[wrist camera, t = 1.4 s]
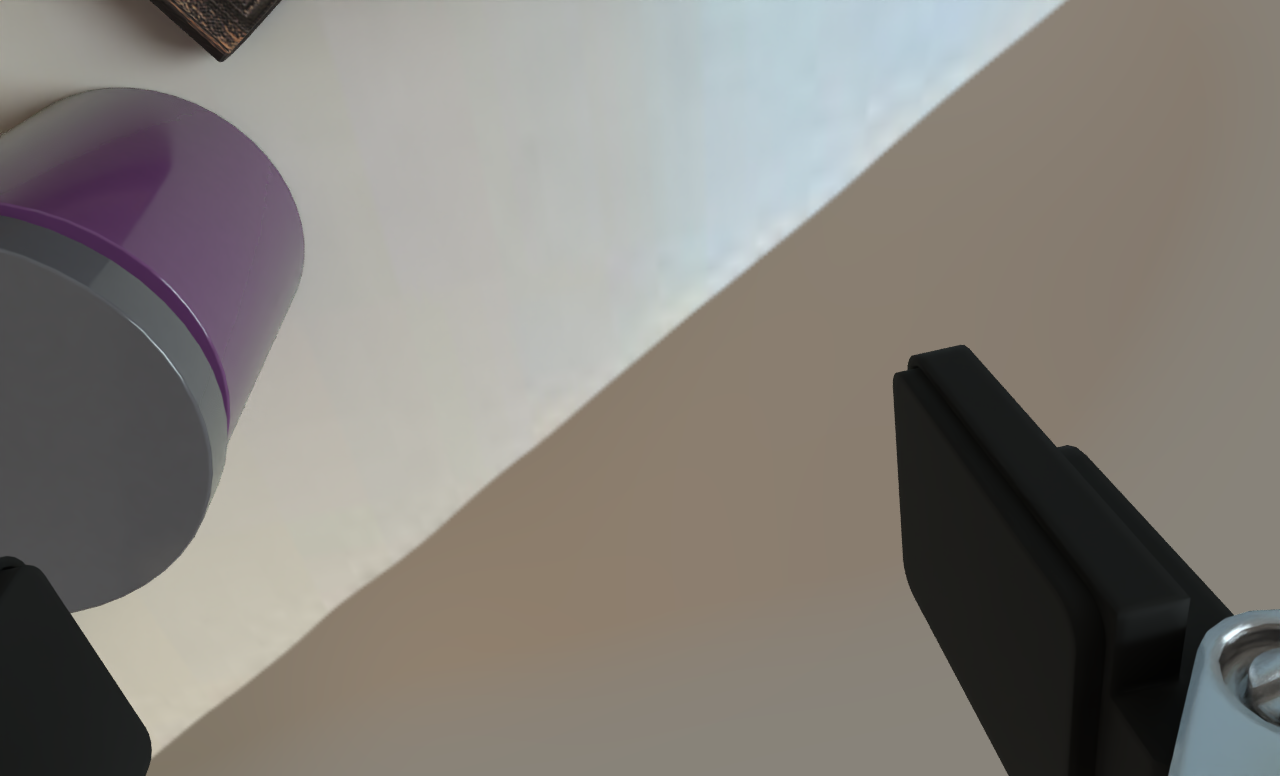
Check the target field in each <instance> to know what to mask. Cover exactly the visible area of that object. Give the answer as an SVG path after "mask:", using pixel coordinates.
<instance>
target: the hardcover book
mask: <svg viewBox="0 0 1280 776" xmlns="http://www.w3.org/2000/svg"><path fill="white" fill-rule="evenodd" d="M150 1H151V2H152V3H153V4H155V5H156V6H157V7H158V8H159V9H160V10H161V11H162V12H164V13H165V14H166V15H167V16H168V17H169V18H170V19H171V20H173V21H174V22H175V23H176V24H177V25H178V26H179V27H180V28H182V29H183V30H184V31H185V32H186V33H187V34H188V35H189V36H190V37H192V38H193V39H194V40H195V41H196V42H197V43H198V44H199V45H201V46H202V47H203V48H204V49H205V50H206V51H207V52H208V53H210V54H211V55H212V56H213V57H214V58H215V59H216V60H217V61H219V62H223V61H224V60H226V59H227V58H228V57H229V56H230V55H232V54H233V53H234V52H235V51H236V50H237V49H238V48H239V47H240V46H241V44H242V43H243V42H244V41H245V40H246V39H247V38H248V37H249V36H250V35H251V34H252V33H253V31H254V30H255V29H256V28H257V27H258V26H259V25H260V24H261V23H262V21H263V20H264V19H265V18H266V17H267V16H268V15H269V14H270V13H271V11H272V10H273V9H274V8H275V7H276V6H277V5H278V4H279V3H280V1H281V0H150Z"/></svg>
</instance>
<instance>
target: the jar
mask: <svg viewBox="0 0 1280 776" xmlns="http://www.w3.org/2000/svg"><path fill="white" fill-rule="evenodd" d="M303 263H304V237H303V230H302V224H301V220H300V217H299V213H298V210H297V207H296V204H295V202H294V200H293V197H292V195H291V193H290V190H289V188H288V187H287V185H286V183H285V182H284V180H283V178H282V177H281V175H280V173H279V172H278V170H277V169H276V168H275V166H274V165H273V164H272V162H271V161H270V160H269V159H268V157H267V156H266V155H265V154H264V153H263V152H262V151H261V150H260V149H259V148H258V147H257V146H256V144H255V143H254V142H253V141H252V140H250V139H249V138H248V137H247V136H246V135H244V134H243V133H242V132H241V131H240V130H238V129H237V128H236V127H235V126H233V125H232V124H230V123H229V122H227V121H226V120H224V119H223V118H221V117H220V116H218V115H216V114H215V113H213V112H211V111H209V110H207V109H205V108H203V107H201V106H199V105H197V104H194V103H192V102H189V101H186V100H184V99H181V98H179V97H176V96H172V95H168V94H164V93H160V92H156V91H151V90H143V89H135V88H106V89H98V90H90V91H86V92H83V93H79V94H75V95H72V96H69V97H67V98H64V99H62V100H60V101H57V102H55V103H53V104H51V105H49V106H48V107H46V108H45V109H43V110H41V111H40V112H38V113H36V114H35V115H33V116H32V117H30V118H28V119H27V120H25V121H23V122H22V123H20V124H19V125H17V126H15V127H14V128H12V129H10V130H9V131H7V132H5V133H4V134H2V135H1V136H0V557H4V556H12V557H16V558H18V559H19V560H21V561H23V562H24V564H25V565H33V566H35V567H37V568H39V569H40V570H41V571H42V572H43V573H44V574H45V576H46V577H47V579H48V580H49V582H50V583H51V585H52V586H53V588H54V590H55V591H56V593H57V594H58V596H59V597H60V599H61V600H62V602H63V603H64V605H65V606H66V608H67V609H68V611H69V612H70V613H73V612H78V611H82V610H85V609H89V608H93V607H97V606H100V605H103V604H106V603H108V602H111V601H113V600H116V599H119V598H121V597H124V596H126V595H127V594H129V593H131V592H133V591H135V590H137V589H139V588H141V587H142V586H144V585H146V584H147V583H149V582H150V581H151V580H153V579H154V578H156V577H157V576H158V575H160V574H161V573H162V572H164V571H165V570H166V569H167V568H168V567H169V566H170V565H171V564H172V563H173V562H174V561H175V560H176V559H177V558H178V557H179V556H181V554H182V553H183V552H184V550H185V549H186V548H187V546H188V545H189V544H190V542H191V541H192V540H193V538H194V537H195V535H196V533H197V531H198V529H199V527H200V525H201V523H202V521H203V519H204V517H205V514H206V512H207V510H208V508H209V505H210V503H211V501H212V498H213V496H214V494H215V492H216V489H217V487H218V485H219V482H220V479H221V475H222V472H223V469H224V465H225V460H226V452H227V445H228V442H229V440H230V438H231V436H232V434H233V431H234V429H235V427H236V425H237V422H238V420H239V418H240V416H241V414H242V411H243V409H244V407H245V405H246V402H247V400H248V398H249V396H250V394H251V391H252V389H253V387H254V385H255V382H256V380H257V378H258V376H259V374H260V371H261V369H262V367H263V365H264V362H265V360H266V358H267V356H268V354H269V351H270V349H271V347H272V345H273V342H274V340H275V338H276V336H277V334H278V331H279V329H280V327H281V325H282V322H283V320H284V318H285V316H286V314H287V311H288V309H289V307H290V305H291V303H292V300H293V298H294V296H295V294H296V291H297V289H298V285H299V282H300V279H301V276H302V270H303Z"/></svg>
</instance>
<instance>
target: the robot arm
mask: <svg viewBox="0 0 1280 776" xmlns="http://www.w3.org/2000/svg"><path fill="white" fill-rule="evenodd" d="M893 394H894V412H895V429H896V444H897V445H896V446H897V463H898V480H899V497H900V514H901V531H902V547H903V562H904V569H905V574H906V577H907V581H908V583H909V586H910V589H911V591H912V594H913V596H914V598H915V600H916V601H917V603H918V605H919V607H920V609H921V611H922V613H923V615H924V616H925V618H926V620H927V622H928V624H929V626H930V628H931V630H932V632H933V634H934V636H935V637H936V639H937V641H938V643H939V645H940V647H941V649H942V651H943V652H944V654H945V656H946V658H947V660H948V662H949V664H950V666H951V667H952V670H953V671H954V673H955V675H956V677H957V679H958V681H959V683H960V685H961V686H962V688H963V690H964V692H965V694H966V696H967V698H968V700H969V702H970V704H971V705H972V707H973V709H974V711H975V713H976V715H977V717H978V718H979V721H980V722H981V724H982V726H983V728H984V730H985V732H986V734H987V736H988V737H989V739H990V741H991V743H992V745H993V747H994V749H995V750H996V753H997V755H998V756H999V758H1000V760H1001V762H1002V764H1003V766H1004V768H1005V770H1006V771H1007V773H1008V775H1009V776H1280V609H1278V610H1257V611H1248V612H1245V613H1242V614H1238V615H1235V616H1234V615H1233V614H1232V613H1231V611H1230V610H1229V609H1228V608H1227V607H1226V606H1225V605H1224V604H1223V603H1222V602H1221V601H1220V599H1218V597H1217V596H1216V595H1215V594H1214V593H1213V592H1212V591H1211V590H1210V589H1209V588H1208V587H1207V585H1206V584H1205V583H1204V582H1203V581H1202V580H1201V579H1200V578H1199V577H1198V576H1197V575H1196V574H1195V572H1194V571H1193V570H1192V569H1191V568H1190V567H1189V566H1188V565H1187V564H1186V563H1185V562H1184V561H1183V559H1182V558H1181V557H1180V556H1179V555H1178V554H1177V553H1176V552H1175V551H1174V550H1173V549H1172V548H1171V546H1169V544H1168V543H1167V542H1166V541H1165V540H1164V539H1163V538H1162V537H1161V536H1160V535H1159V534H1158V532H1157V531H1156V530H1155V529H1154V528H1153V527H1152V526H1151V525H1150V524H1149V523H1148V522H1147V520H1146V519H1145V518H1144V517H1143V516H1142V515H1141V514H1140V513H1139V512H1138V511H1137V510H1136V509H1135V507H1134V506H1133V505H1132V504H1131V503H1130V502H1129V501H1128V500H1127V499H1126V498H1125V497H1124V496H1123V494H1122V493H1121V492H1120V491H1119V490H1118V489H1117V488H1116V487H1115V486H1114V485H1113V484H1112V483H1111V481H1110V480H1109V479H1108V478H1107V477H1106V476H1105V475H1104V474H1103V473H1102V472H1101V471H1100V470H1099V468H1097V467H1096V465H1095V464H1094V463H1093V462H1092V461H1091V460H1090V459H1089V458H1088V457H1087V456H1086V455H1085V454H1084V453H1083V452H1082V451H1080V450H1079V449H1078V448H1077V447H1073V446H1069V445H1066V446H1062V447H1056V446H1055V445H1054V444H1053V442H1052V441H1051V440H1050V439H1049V438H1048V437H1047V436H1046V435H1045V433H1043V431H1042V430H1041V429H1040V428H1039V427H1038V426H1037V424H1036V423H1035V422H1034V421H1033V420H1032V419H1031V418H1030V417H1029V415H1028V414H1027V413H1026V412H1025V411H1024V410H1023V409H1022V408H1021V406H1020V405H1019V404H1018V403H1017V402H1016V401H1015V400H1014V398H1013V397H1012V396H1011V395H1010V394H1009V393H1008V392H1007V391H1006V389H1005V388H1004V387H1003V386H1002V385H1001V384H1000V383H999V382H998V380H997V379H996V378H995V377H994V376H993V375H992V374H991V373H990V371H989V370H988V369H987V368H986V367H985V366H984V365H983V364H982V362H981V361H980V360H979V359H978V358H977V357H976V356H975V355H974V353H973V352H972V351H971V350H970V349H969V348H968V347H966V346H965V345H958V346H954V347H949V348H944V349H940V350H935V351H931V352H926V353H922V354H918V355H913V356H911V357H910V359H909V362H908V370H907V371H902V372H898V373H895V375H894V378H893ZM151 752H152V749H151V740H150V737H149V733H148V731H147V729H146V727H145V726H144V724H143V723H142V721H141V720H140V718H139V717H138V715H137V714H136V712H135V711H134V709H133V708H132V706H131V705H130V703H129V702H128V700H127V699H126V697H125V696H124V694H123V693H122V691H121V690H120V688H119V687H118V685H117V684H116V682H115V680H114V679H113V677H112V676H111V674H110V673H109V671H108V670H107V668H106V667H105V665H104V664H103V662H102V661H101V659H100V658H99V656H98V655H97V653H96V652H95V650H94V649H93V647H92V646H91V644H90V643H89V641H88V640H87V638H86V637H85V635H84V633H83V632H82V630H81V629H80V627H79V626H78V624H77V623H76V621H75V620H74V618H73V617H72V615H71V614H70V612H69V611H68V609H67V608H66V606H65V605H64V603H63V602H62V600H61V599H60V597H59V596H58V594H57V593H56V591H55V590H54V588H53V586H52V585H51V583H50V582H49V580H48V579H47V577H46V576H45V574H44V573H43V572H42V571H41V570H40V569H39V568H37V567H35V566H33V565H25V564H24V562H23V561H21V560H19V559H18V558H16V557H12V556H4V557H0V776H146V773H147V770H148V768H149V765H150V761H151Z"/></svg>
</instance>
